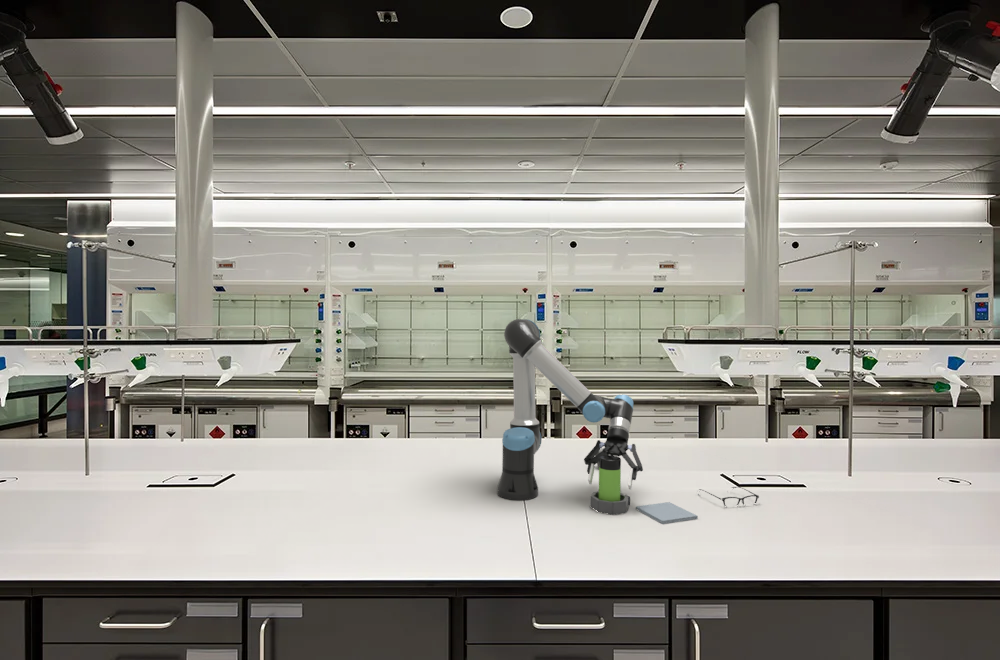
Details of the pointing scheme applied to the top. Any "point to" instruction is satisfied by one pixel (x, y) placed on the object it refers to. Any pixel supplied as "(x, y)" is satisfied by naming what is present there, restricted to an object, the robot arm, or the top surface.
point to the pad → (666, 512)
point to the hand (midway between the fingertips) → (609, 484)
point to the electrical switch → (598, 453)
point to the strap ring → (610, 504)
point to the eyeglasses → (736, 497)
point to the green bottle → (609, 478)
